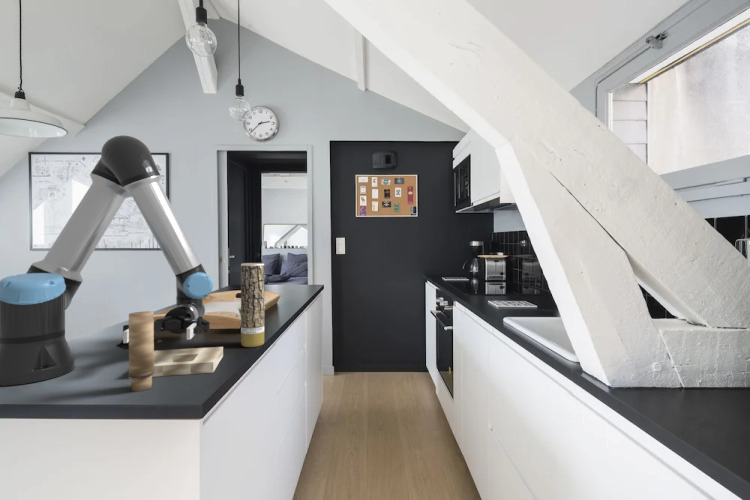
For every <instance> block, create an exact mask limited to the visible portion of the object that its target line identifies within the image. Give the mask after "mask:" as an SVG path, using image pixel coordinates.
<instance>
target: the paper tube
mask: <svg viewBox="0 0 750 500" xmlns="http://www.w3.org/2000/svg"><path fill="white" fill-rule="evenodd" d="M264 306H265V263H264V262H243V263H241V264H240V307H241V316H240V344H241V346H242V347H244V348H255V347H256V348H257V347H260V346H263V345H264V343H265V308H264Z"/></svg>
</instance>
